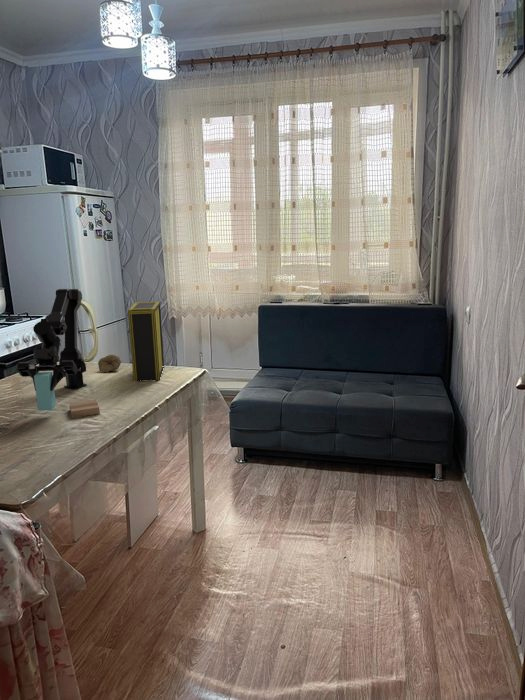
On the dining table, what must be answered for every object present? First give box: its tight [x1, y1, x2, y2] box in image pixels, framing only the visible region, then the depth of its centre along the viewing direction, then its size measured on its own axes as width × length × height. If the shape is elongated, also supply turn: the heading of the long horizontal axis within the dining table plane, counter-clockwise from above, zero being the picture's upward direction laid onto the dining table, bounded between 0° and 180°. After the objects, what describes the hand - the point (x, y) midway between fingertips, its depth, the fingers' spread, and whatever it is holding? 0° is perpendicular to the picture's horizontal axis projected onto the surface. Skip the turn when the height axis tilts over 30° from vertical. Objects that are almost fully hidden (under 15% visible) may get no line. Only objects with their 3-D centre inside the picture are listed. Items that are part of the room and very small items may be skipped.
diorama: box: [127, 301, 165, 382], centre depth 224 cm, size 21×11×30 cm, turn 5°
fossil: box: [97, 354, 122, 373], centre depth 235 cm, size 9×4×10 cm
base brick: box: [68, 399, 101, 419], centre depth 183 cm, size 9×9×2 cm
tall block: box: [34, 371, 57, 412], centre depth 177 cm, size 4×4×12 cm
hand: (43, 390), depth 176 cm, fingers closed on tall block, 4 cm apart
